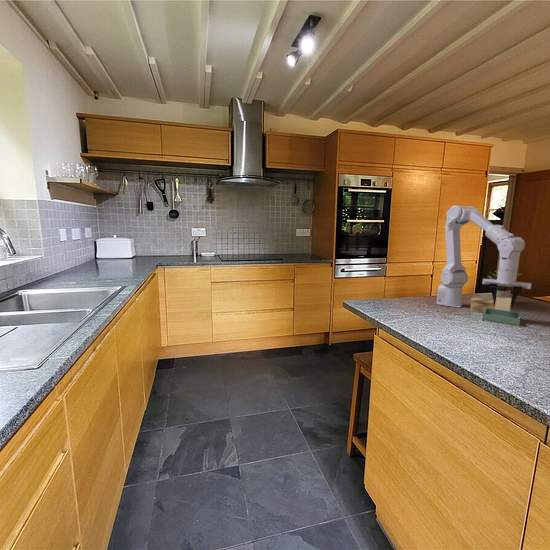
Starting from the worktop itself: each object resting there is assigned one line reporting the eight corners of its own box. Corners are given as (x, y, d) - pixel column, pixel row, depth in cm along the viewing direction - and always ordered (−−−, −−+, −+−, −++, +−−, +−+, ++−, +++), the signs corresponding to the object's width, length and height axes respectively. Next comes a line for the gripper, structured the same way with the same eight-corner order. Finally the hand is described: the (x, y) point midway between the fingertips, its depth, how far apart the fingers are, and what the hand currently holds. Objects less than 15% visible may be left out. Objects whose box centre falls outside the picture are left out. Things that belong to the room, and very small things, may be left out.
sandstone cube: (494, 309, 113) (496, 297, 113) (495, 306, 117) (497, 295, 116) (509, 311, 111) (511, 299, 110) (509, 308, 114) (511, 297, 113)
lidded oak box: (469, 310, 126) (470, 299, 125) (470, 307, 131) (472, 296, 130) (495, 314, 121) (496, 303, 120) (496, 311, 125) (497, 300, 124)
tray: (482, 319, 114) (483, 313, 113) (484, 313, 122) (485, 307, 122) (519, 326, 107) (520, 319, 107) (518, 318, 116) (519, 312, 115)
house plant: (516, 301, 144) (521, 267, 141) (526, 308, 131) (531, 271, 129) (481, 298, 150) (485, 265, 147) (487, 304, 137) (492, 269, 134)
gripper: (483, 268, 113) (479, 303, 115) (533, 272, 104) (527, 310, 106) (485, 267, 118) (480, 300, 121) (532, 270, 109) (527, 306, 112)
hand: (502, 304), depth 114 cm, fingers closed on sandstone cube, 4 cm apart
